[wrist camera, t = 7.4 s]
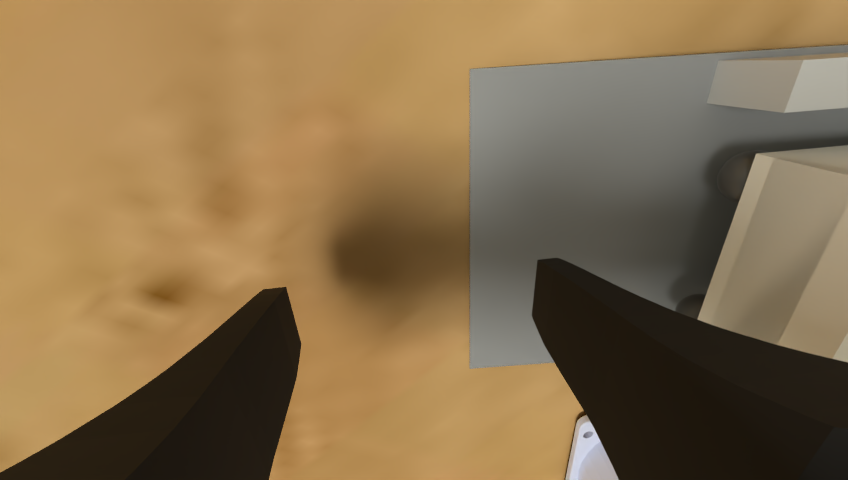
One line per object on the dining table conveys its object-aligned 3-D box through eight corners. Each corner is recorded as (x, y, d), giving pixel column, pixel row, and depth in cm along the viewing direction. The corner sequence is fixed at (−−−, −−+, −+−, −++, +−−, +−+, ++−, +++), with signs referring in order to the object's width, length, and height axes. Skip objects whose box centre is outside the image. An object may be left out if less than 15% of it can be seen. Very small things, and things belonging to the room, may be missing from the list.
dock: (813, 312, 18) (941, 386, 14) (466, 358, 16) (497, 456, 12) (958, 36, 13) (1241, 23, 8) (465, 68, 11) (517, 72, 7)
